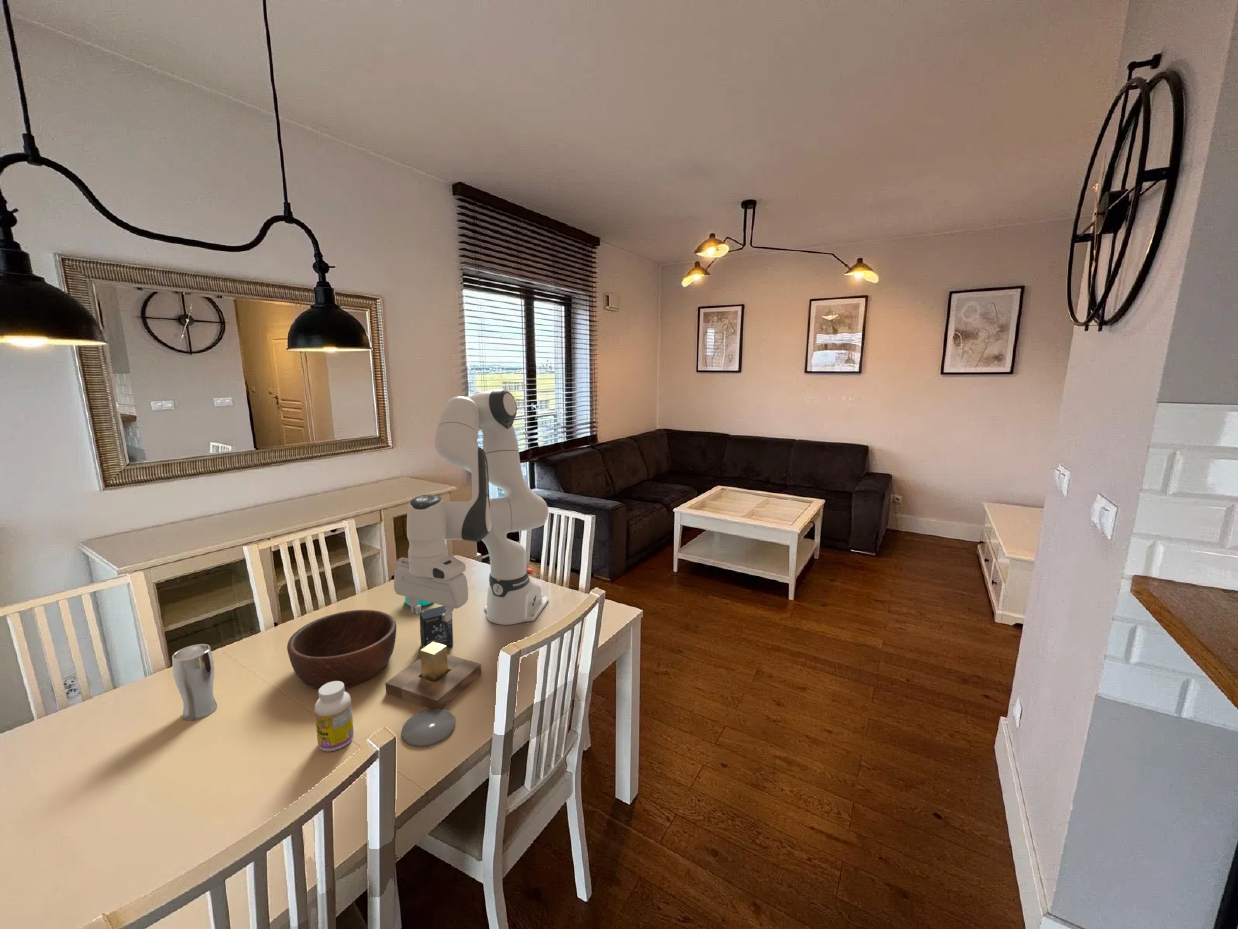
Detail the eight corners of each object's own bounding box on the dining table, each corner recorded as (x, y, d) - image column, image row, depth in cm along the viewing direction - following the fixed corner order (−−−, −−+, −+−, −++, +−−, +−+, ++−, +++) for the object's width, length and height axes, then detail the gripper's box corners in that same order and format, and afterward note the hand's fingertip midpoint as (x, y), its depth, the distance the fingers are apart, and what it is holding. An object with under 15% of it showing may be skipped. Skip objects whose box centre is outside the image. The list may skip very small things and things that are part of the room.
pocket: (433, 659, 138) (432, 649, 137) (481, 674, 132) (481, 664, 131) (386, 693, 123) (385, 682, 123) (437, 712, 117) (437, 700, 117)
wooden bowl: (340, 636, 148) (337, 604, 146) (417, 648, 143) (415, 615, 141) (265, 689, 124) (261, 651, 122) (355, 705, 119) (351, 665, 117)
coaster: (427, 706, 119) (427, 703, 119) (465, 720, 115) (465, 717, 115) (390, 737, 109) (390, 734, 109) (430, 753, 105) (430, 750, 105)
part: (434, 677, 130) (432, 641, 128) (448, 681, 129) (446, 645, 127) (422, 686, 126) (420, 650, 124) (436, 691, 125) (434, 654, 123)
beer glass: (176, 725, 111) (166, 664, 108) (185, 706, 117) (175, 647, 114) (216, 716, 114) (207, 656, 111) (222, 698, 120) (214, 640, 117)
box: (425, 654, 140) (423, 619, 138) (420, 644, 145) (418, 610, 143) (453, 646, 144) (452, 612, 142) (448, 637, 149) (447, 604, 147)
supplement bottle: (313, 742, 107) (307, 688, 105) (346, 726, 112) (341, 673, 110) (325, 758, 103) (320, 702, 100) (359, 740, 108) (354, 687, 105)
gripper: (385, 560, 122) (389, 613, 125) (453, 574, 114) (455, 631, 117) (405, 552, 128) (408, 603, 130) (471, 565, 120) (473, 619, 123)
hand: (431, 616), depth 124 cm, fingers open, 8 cm apart
